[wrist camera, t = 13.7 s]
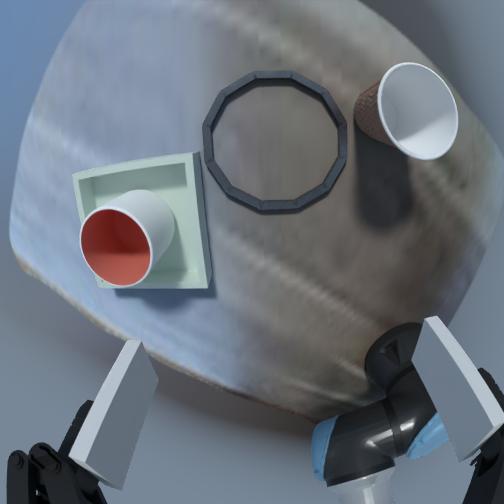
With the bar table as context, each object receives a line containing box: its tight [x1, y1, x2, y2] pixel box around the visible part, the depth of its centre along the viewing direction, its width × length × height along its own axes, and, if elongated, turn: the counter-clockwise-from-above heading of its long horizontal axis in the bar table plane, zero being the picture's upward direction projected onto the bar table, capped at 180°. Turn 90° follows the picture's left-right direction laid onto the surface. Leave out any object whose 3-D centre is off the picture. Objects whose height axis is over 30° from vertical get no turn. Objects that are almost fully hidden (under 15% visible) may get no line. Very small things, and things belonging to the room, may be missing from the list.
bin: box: [72, 151, 212, 289], centre depth 36 cm, size 18×18×4 cm
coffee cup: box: [354, 63, 458, 160], centre depth 26 cm, size 10×10×12 cm
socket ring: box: [202, 71, 347, 210], centre depth 33 cm, size 18×18×1 cm
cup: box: [80, 190, 175, 287], centre depth 33 cm, size 10×10×10 cm
